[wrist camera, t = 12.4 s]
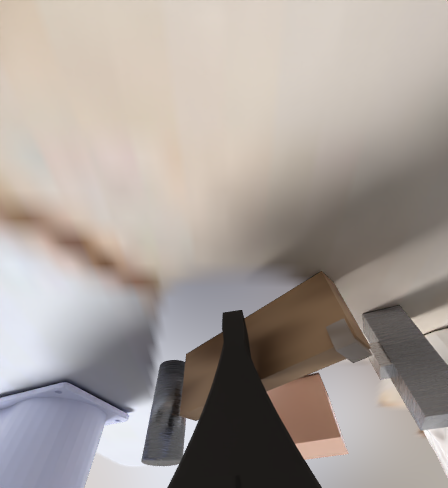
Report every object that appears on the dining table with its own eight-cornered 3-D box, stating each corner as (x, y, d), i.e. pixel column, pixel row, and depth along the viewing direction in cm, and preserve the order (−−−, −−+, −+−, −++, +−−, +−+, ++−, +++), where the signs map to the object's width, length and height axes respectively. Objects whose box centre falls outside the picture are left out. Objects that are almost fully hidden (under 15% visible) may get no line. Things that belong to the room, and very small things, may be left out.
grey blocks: (169, 376, 17) (155, 467, 13) (153, 364, 16) (133, 459, 12) (397, 325, 14) (470, 424, 10) (399, 304, 13) (482, 407, 9)
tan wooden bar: (200, 360, 16) (197, 425, 13) (185, 353, 15) (177, 420, 12) (334, 283, 12) (375, 354, 9) (320, 270, 11) (358, 340, 8)
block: (275, 405, 22) (285, 462, 19) (258, 385, 19) (267, 447, 16) (328, 395, 21) (348, 453, 18) (318, 372, 18) (341, 437, 15)
